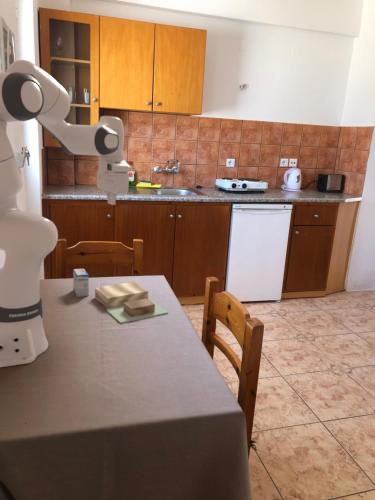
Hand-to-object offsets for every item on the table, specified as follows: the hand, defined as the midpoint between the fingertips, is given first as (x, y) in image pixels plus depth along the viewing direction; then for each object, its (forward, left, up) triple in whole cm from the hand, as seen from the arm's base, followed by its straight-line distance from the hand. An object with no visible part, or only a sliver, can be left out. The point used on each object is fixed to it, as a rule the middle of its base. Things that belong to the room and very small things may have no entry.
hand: (111, 204), depth 148 cm
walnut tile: (+2, -19, -32) cm, 37 cm away
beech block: (+2, -5, -35) cm, 36 cm away
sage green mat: (+2, -18, -35) cm, 40 cm away
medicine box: (-9, +8, -36) cm, 38 cm away
